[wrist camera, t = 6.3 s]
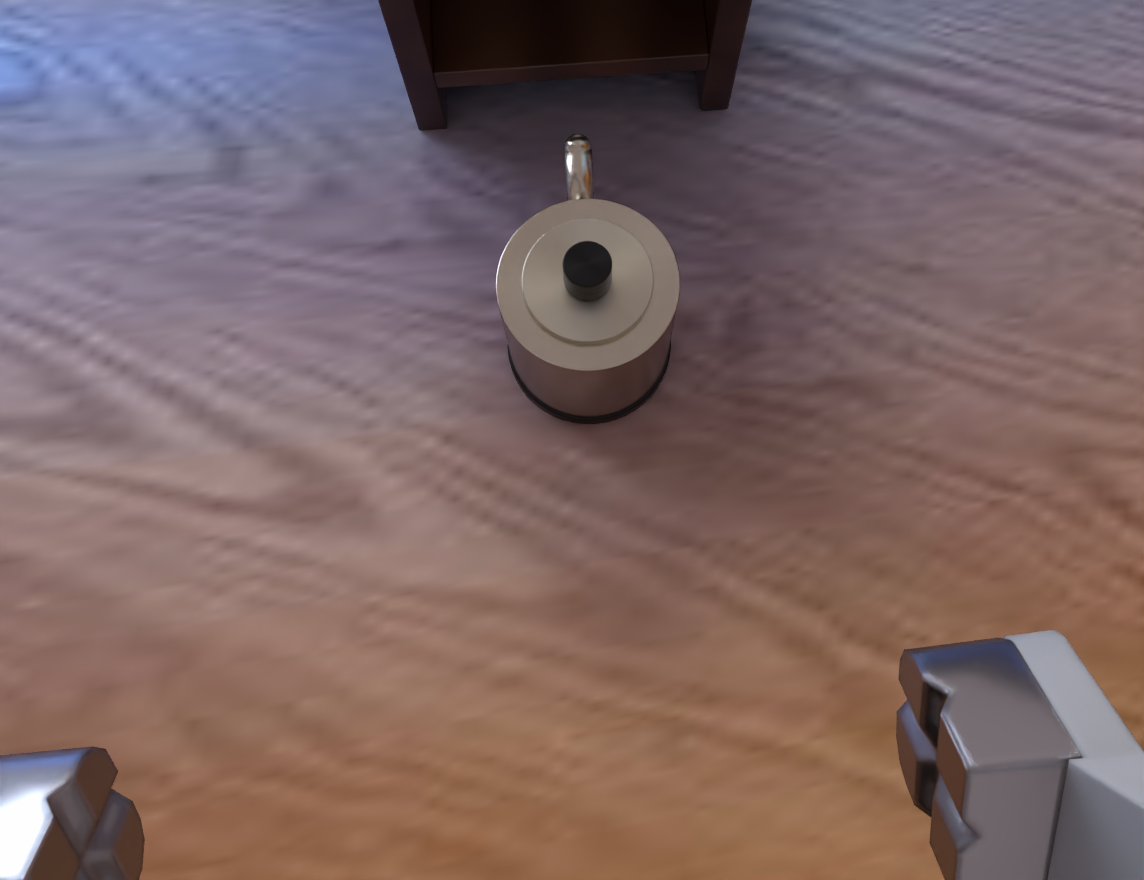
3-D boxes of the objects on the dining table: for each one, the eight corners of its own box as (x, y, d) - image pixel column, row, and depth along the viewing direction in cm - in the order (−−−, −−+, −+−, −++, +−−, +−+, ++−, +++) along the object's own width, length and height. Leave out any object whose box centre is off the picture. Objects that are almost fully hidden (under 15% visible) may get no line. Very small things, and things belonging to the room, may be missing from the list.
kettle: (512, 429, 41) (492, 365, 33) (501, 211, 43) (479, 101, 35) (676, 418, 41) (696, 351, 33) (657, 200, 43) (671, 88, 35)
